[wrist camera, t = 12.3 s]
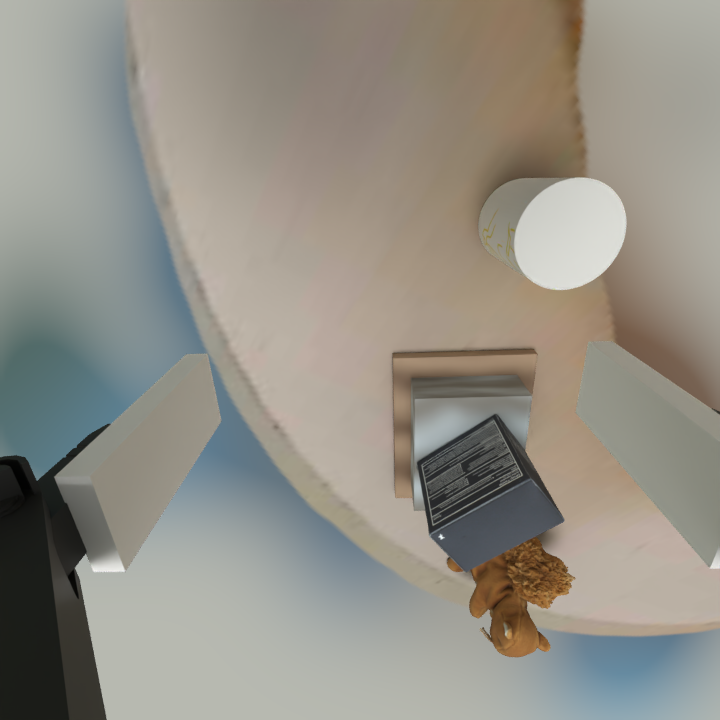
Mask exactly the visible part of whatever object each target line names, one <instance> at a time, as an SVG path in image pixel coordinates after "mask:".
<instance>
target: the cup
mask: <svg viewBox="0 0 720 720" xmlns="http://www.w3.org/2000/svg"><path fill="white" fill-rule="evenodd" d="M478 231H479V236H480V240H481V242H482V244H483V246H484V248H485V249H486V250H487V251H488V252H489V253H490V254H491V255H492V256H494V257H495V258H497V259H498V260H500V261H501V262H503V263H504V264H506V265H507V266H509V267H510V268H512V269H514V270H515V271H517V272H518V273H520V274H521V275H523V276H524V277H526V278H528V279H529V280H531V281H532V282H534V283H535V284H537V285H539V286H541V287H544V288H548V289H553V290H566V289H572V288H576V287H579V286H582V285H584V284H586V283H588V282H590V281H592V280H594V279H595V278H597V277H598V276H599V275H600V274H602V273H603V272H604V271H605V270H606V269H607V268H608V267H609V266H610V264H611V263H612V262H613V260H614V259H615V258H616V256H617V254H618V253H619V251H620V249H621V246H622V244H623V241H624V237H625V231H626V214H625V210H624V207H623V204H622V202H621V200H620V198H619V197H618V195H617V194H616V193H615V192H614V191H613V190H612V189H611V188H610V187H609V186H607V185H606V184H604V183H602V182H600V181H597V180H595V179H590V178H520V179H515V180H512V181H509V182H507V183H505V184H503V185H501V186H500V187H498V188H497V189H496V190H495V191H494V192H493V193H492V194H491V195H490V196H489V197H488V199H487V200H486V202H485V203H484V205H483V207H482V210H481V213H480V216H479V222H478Z"/></svg>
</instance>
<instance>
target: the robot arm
mask: <svg viewBox="0 0 720 720" xmlns="http://www.w3.org/2000/svg"><path fill="white" fill-rule="evenodd" d="M576 414H577V415H578V416H579V417H580V418H581V419H582V421H583V422H584V423H585V424H586V425H587V426H588V428H589V429H590V430H591V431H592V432H593V433H594V435H595V436H596V437H597V438H598V439H599V440H600V441H601V443H602V444H603V445H604V446H605V447H606V448H607V450H608V451H609V452H610V453H611V454H612V455H613V457H614V458H615V459H616V460H617V461H618V462H619V464H620V465H621V466H622V467H623V468H624V469H625V470H626V472H627V473H628V474H629V475H630V476H631V477H632V479H633V480H634V481H635V482H636V483H637V484H638V486H639V487H640V488H641V489H642V490H643V491H644V493H645V494H646V495H647V496H648V497H649V498H650V499H651V501H652V502H653V503H654V504H655V505H656V506H657V508H658V509H659V510H660V511H661V512H662V513H663V515H664V516H665V517H666V518H667V519H668V520H669V522H670V523H671V524H672V525H673V526H674V527H675V528H676V530H677V531H678V532H679V533H680V534H681V535H682V537H683V538H684V539H685V540H686V541H687V542H688V544H689V545H690V546H691V547H692V548H693V549H694V551H695V552H696V553H697V554H698V555H699V556H700V557H701V559H702V560H703V561H704V562H705V563H706V564H707V566H708V567H709V568H710V569H717V568H720V412H719V411H717V410H715V409H711V408H709V407H708V406H706V405H705V404H703V403H702V402H700V401H699V400H698V399H696V398H694V397H693V396H691V395H690V394H689V393H687V392H686V391H684V390H683V389H681V388H680V387H678V386H677V385H675V384H674V383H673V382H671V381H670V380H668V379H667V378H665V377H664V376H662V375H661V374H659V373H658V372H656V371H655V370H653V369H652V368H650V367H649V366H648V365H646V364H645V363H643V362H641V361H640V360H639V359H637V358H636V357H634V356H633V355H631V354H630V353H628V352H627V351H625V350H624V349H623V348H621V347H620V346H618V345H617V344H615V343H614V342H612V341H600V342H588V347H587V353H586V358H585V364H584V369H583V375H582V380H581V386H580V391H579V397H578V402H577V408H576ZM220 422H221V417H220V412H219V408H218V402H217V397H216V392H215V388H214V383H213V378H212V373H211V369H210V363H209V359H208V354H188V355H185V356H184V357H183V358H182V359H181V360H180V361H179V362H178V363H176V364H175V365H174V366H173V367H172V368H171V369H170V370H169V371H168V372H167V373H166V374H165V375H164V376H162V378H160V379H159V380H158V381H157V382H156V383H155V384H154V385H153V386H152V387H151V388H149V389H148V390H147V391H146V392H145V393H144V394H143V395H142V396H141V397H140V398H139V399H138V400H137V401H135V402H134V403H133V404H132V405H131V406H130V407H129V408H128V409H127V410H126V411H125V412H124V413H123V414H122V415H120V416H119V417H118V418H117V419H116V420H115V421H114V422H113V423H112V424H107V425H105V426H103V427H101V428H100V429H98V430H96V431H94V432H92V433H91V434H89V435H88V436H87V437H86V438H85V439H84V440H83V441H81V442H80V443H79V444H78V445H77V448H74V449H72V450H71V451H70V452H69V453H68V454H67V455H66V457H65V458H62V459H61V460H60V461H59V462H58V463H57V464H56V465H54V467H52V468H51V469H50V470H49V471H48V472H47V473H46V474H45V475H43V476H42V477H41V478H40V479H39V480H38V481H36V478H35V476H34V474H33V472H32V469H31V467H30V465H29V462H28V461H27V460H26V458H25V457H21V456H17V455H16V456H4V457H0V720H107V719H106V714H105V709H104V704H103V698H102V693H101V688H100V683H99V678H98V672H97V668H96V662H95V657H94V652H93V647H92V641H91V637H90V631H89V626H88V621H87V616H86V610H85V605H84V600H83V595H82V590H81V585H80V579H79V576H78V574H77V572H76V570H75V567H76V565H77V564H78V563H79V561H80V560H81V559H82V558H83V556H84V555H85V554H86V555H87V557H88V560H89V562H90V564H91V567H92V569H93V572H125V571H126V570H127V568H128V566H129V565H130V563H131V562H132V560H133V559H134V557H135V556H136V554H137V552H138V551H139V550H140V548H141V546H142V545H143V543H144V541H145V540H146V539H147V537H148V535H149V534H150V532H151V530H152V529H153V528H154V526H155V524H156V523H157V521H158V520H159V518H160V517H161V515H162V513H163V512H164V510H165V509H166V507H167V506H168V504H169V502H170V501H171V499H172V498H173V496H174V495H175V493H176V491H177V490H178V488H179V487H180V485H181V484H182V482H183V480H184V479H185V477H186V475H187V474H188V473H189V471H190V469H191V468H192V466H193V465H194V463H195V462H196V460H197V458H198V457H199V455H200V454H201V452H202V451H203V449H204V447H205V446H206V444H207V443H208V441H209V440H210V438H211V436H212V435H213V433H214V432H215V430H216V428H217V427H218V425H219V424H220Z"/></svg>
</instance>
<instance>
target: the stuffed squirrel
mask: <svg viewBox="0 0 720 720" xmlns="http://www.w3.org/2000/svg"><path fill="white" fill-rule="evenodd" d="M541 546H542V544H541V543H540V541H539V540H538V538H536V537H533V538H531V539H529V540H527V541H525V542H523V543H521V544H520V545H518V546H516V547H514V548H512V549H510V550H508V551H506V552H504V553H502V554H500V555H498V556H496V557H494V558H492V559H490V560H488V561H487V562H485V563H483V564H481V565H479V566H477V567H475V568H473V569H471V570H470V571H471V573H472V576H473V580H474V581H475V583H476V584H477V585H476V588H475V590H474V593H473V595H472V597H471V599H470V604H469V608H470V613H471V614H472V616H474V617H476V618H480V617H481V616H482V615H483V614H484V613H485V612H486V611H487V610H488V609H489V610H490V616H491V617H492V622H491V627H490V635H491V637H490V636H489V634H487V633H486V631H485V630H484V628H482V629H481V628H480V631H481V632H482V633H483V634H484V635H485V633H486V635H487V636H488V637H487V636H486V635H485V637H486V638H487V639H488V640H490V641H491V642H492V643H493V644H494V646H495V648H496V649H497V651H498V652H499V653H501V654H503V655H505V656H509V657H522V656H525V655H527V654H530V653H532V652H534V651H535V650H536V648H539V649H540V650H542V651H545V652H546V651H549V649H550V644H549V642H548V640H547V639H546V638H545V637H544V636H543V635H542V634H541V633H540V632H538V631H537V628H536V626H535V624H534V623H533V621H532V619H531V618H530V615H529V613H528V611H527V601H528V602H530V603H532V604H537V605H538V606H540V607H541V608H547V609H548V608H549V607H550V604H552V603H553V602H551V601H552V600H554V599H555V598H556V597H557V596H561V595H566V594H569V592H568V590H569V589H570V588H572V587H571V586H572V585H571V583H570V582H572V580H574V579H575V577H573V576H571V575H570V574H569V573H566V572H567V571H568V570H567V568H568V567H566V566H565V565H564V562H562V560H560V559H559V558H557V557H555V556H552V555H550V554H548V553H546V552H545V551H544V550H543V548H542V547H541ZM447 565H448V567H449V568H450V569H451V570H452V571H455V572H462V571H463V570H462V569H461V568H460V567H459V566H458V565H457V564H456V563H455V562H454V561H453V560H452V559H451V558H449V559H448V562H447ZM483 631H484V632H485V633H484V632H483Z"/></svg>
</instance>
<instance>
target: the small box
mask: <svg viewBox="0 0 720 720" xmlns="http://www.w3.org/2000/svg"><path fill="white" fill-rule="evenodd" d="M417 470H418V472H419V477H420V483H421V489H422V495H423V500H424V505H425V511H426V516H427V522H428V530H429V537H430V538H431V539H432V540H434V542H436V543H437V544H438V546H439V547H440V548H441V549H442V550H443V551H444V552H445V553H446V554H447V555H448V556H449V557H450V558H451V559H452V560H453V561H454V562H455V563H456V564H457V565H458V566H459V567H460V568H461V569H462V570H463V571H464V572H467V571H469V570H471V569H473V568H475V567H477V566H479V565H481V564H483V563H485V562H487V561H488V560H490V559H492V558H494V557H496V556H498V555H500V554H502V553H504V552H506V551H508V550H510V549H512V548H514V547H516V546H518V545H520V544H521V543H523V542H525V541H527V540H529V539H531V538H533V537H535V536H537V535H539V534H541V533H543V532H545V531H547V530H549V529H551V528H553V527H555V526H557V525H559V524H561V523H563V522H564V518H563V516H562V515H561V513H560V511H559V510H558V508H557V506H556V504H555V503H554V501H553V499H552V497H551V496H550V494H549V492H548V490H547V489H546V487H545V485H544V483H543V482H542V480H541V478H540V476H539V474H538V473H537V471H536V469H535V468H534V466H533V464H532V462H531V461H530V459H529V457H528V456H527V454H526V452H525V450H524V448H523V447H522V446H521V444H520V443H519V442H518V441H517V439H516V438H515V437H514V435H513V434H512V433H511V431H510V430H509V429H508V428H507V426H506V425H505V423H504V422H503V421H502V420H501V418H500V417H499V416H498V415H496V414H495V415H493V416H492V417H490V418H488V419H487V420H485V421H483V422H482V423H480V424H479V425H477V426H475V427H474V428H472V429H470V430H469V431H467V432H465V433H464V434H462V435H461V436H459V437H457V438H456V439H454V440H453V441H451V442H449V443H448V444H446V445H444V446H443V447H441V448H439V449H438V450H436V451H435V452H433V453H431V454H430V455H428V456H426V457H425V458H423V459H422V460H420V461H418V462H417Z"/></svg>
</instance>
